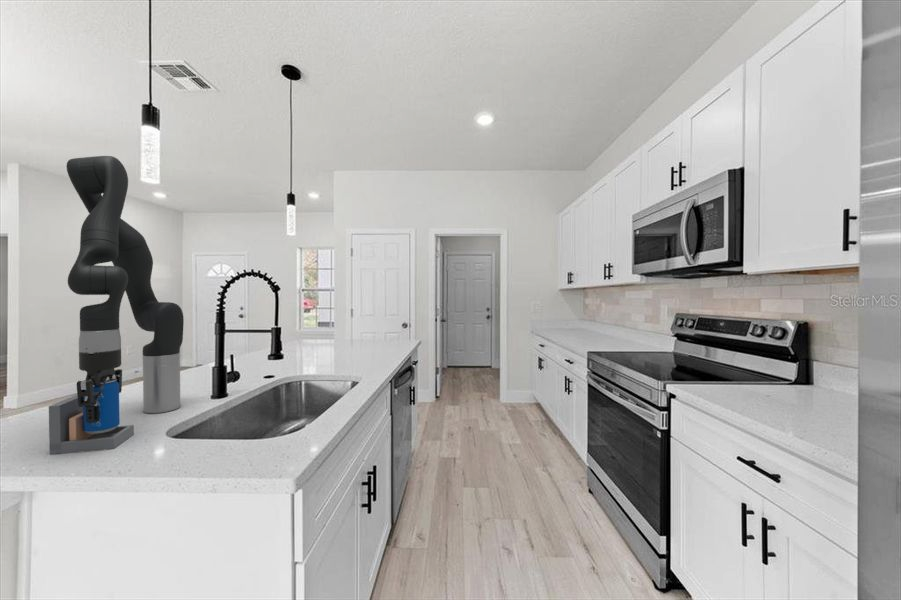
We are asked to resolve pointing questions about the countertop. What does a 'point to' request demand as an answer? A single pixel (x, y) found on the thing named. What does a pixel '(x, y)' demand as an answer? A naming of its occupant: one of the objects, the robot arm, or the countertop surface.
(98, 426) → the beverage can
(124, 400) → the countertop surface
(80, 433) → the thin tan plate
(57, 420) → the grey bracket
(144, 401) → the robot arm
